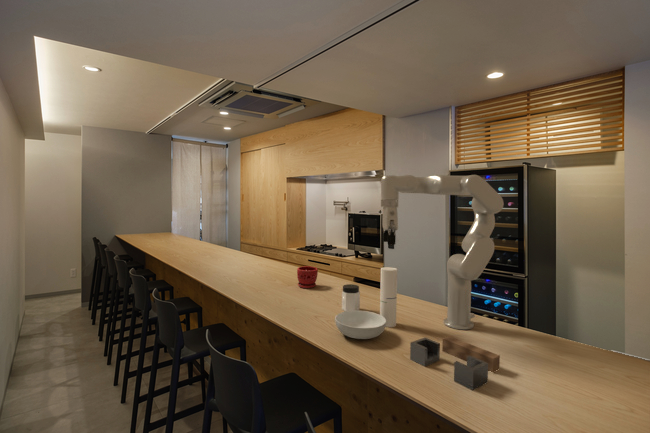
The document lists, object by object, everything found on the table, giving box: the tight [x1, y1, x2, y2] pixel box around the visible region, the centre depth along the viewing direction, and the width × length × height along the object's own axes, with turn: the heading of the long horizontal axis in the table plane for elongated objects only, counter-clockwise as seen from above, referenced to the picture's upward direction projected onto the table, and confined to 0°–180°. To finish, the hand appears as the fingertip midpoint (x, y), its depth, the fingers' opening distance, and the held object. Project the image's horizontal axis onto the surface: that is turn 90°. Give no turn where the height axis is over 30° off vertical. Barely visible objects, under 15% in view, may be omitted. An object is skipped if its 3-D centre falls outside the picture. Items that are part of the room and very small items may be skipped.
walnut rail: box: [441, 335, 501, 373], centre depth 117 cm, size 19×4×5 cm, turn 35°
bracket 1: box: [409, 337, 441, 367], centre depth 117 cm, size 6×8×6 cm
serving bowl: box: [334, 310, 386, 340], centre depth 139 cm, size 21×21×7 cm
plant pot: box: [296, 265, 319, 289], centre depth 216 cm, size 13×13×12 cm
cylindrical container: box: [379, 266, 398, 328], centre depth 150 cm, size 7×7×25 cm
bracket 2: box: [453, 356, 489, 391], centre depth 103 cm, size 6×8×6 cm
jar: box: [341, 283, 361, 312], centre depth 170 cm, size 9×8×12 cm
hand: (388, 243), depth 148 cm, fingers open, 9 cm apart
